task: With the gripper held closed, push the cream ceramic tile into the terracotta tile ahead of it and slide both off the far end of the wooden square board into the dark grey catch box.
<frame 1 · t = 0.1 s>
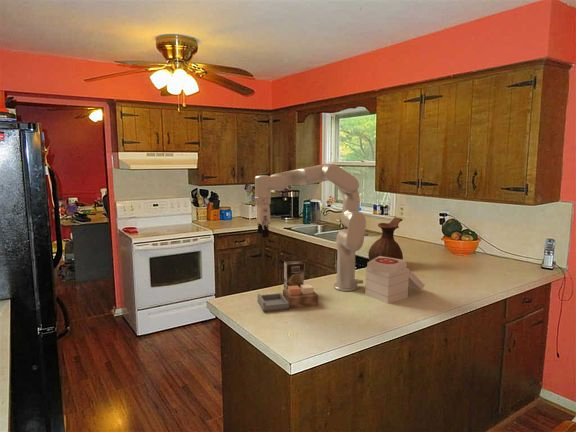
hand: (263, 235, 203), 31 cm above the worktop, tool pointing down, fingers open, 9 cm apart
wooden square board: (299, 302, 198), on the worktop
coffee box: (293, 292, 212), on the worktop
jug: (385, 266, 261), on the worktop
pizza boxes: (393, 293, 211), on the worktop
tile 2: (306, 291, 199), point 5 cm above the worktop, touching wooden square board
tile 1: (294, 293, 197), point 5 cm above the worktop, touching wooden square board
catch box: (272, 305, 195), on the worktop
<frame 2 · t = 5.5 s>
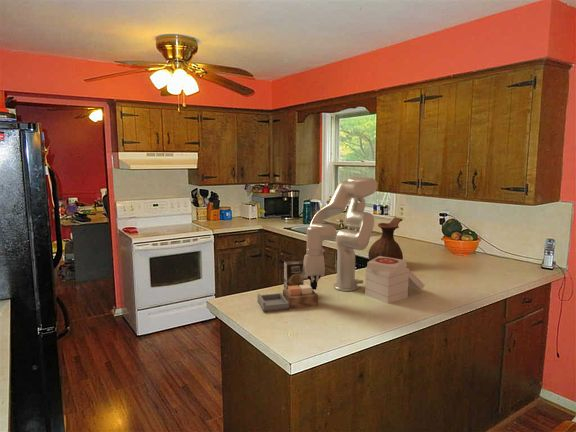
hand: (313, 288, 199), 6 cm above the worktop, tool pointing down, fingers closed
tile 2: (305, 291, 198), point 5 cm above the worktop, touching wooden square board, gripper
everything else where it was.
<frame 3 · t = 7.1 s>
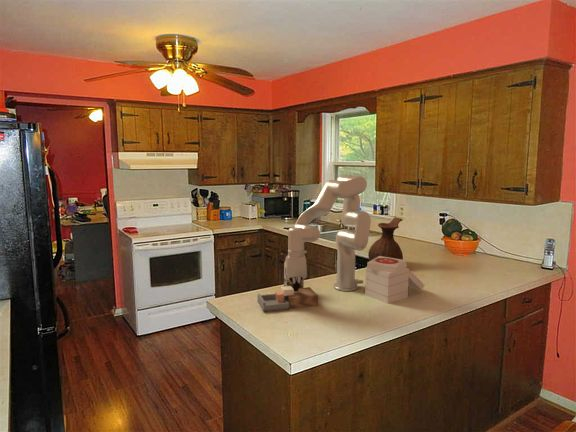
hand: (295, 290, 197), 6 cm above the worktop, tool pointing down, fingers closed
tile 2: (287, 293, 196), point 5 cm above the worktop, touching gripper
tile 1: (282, 297, 195), point 3 cm above the worktop, tilted 94°, touching catch box
everything else where it was.
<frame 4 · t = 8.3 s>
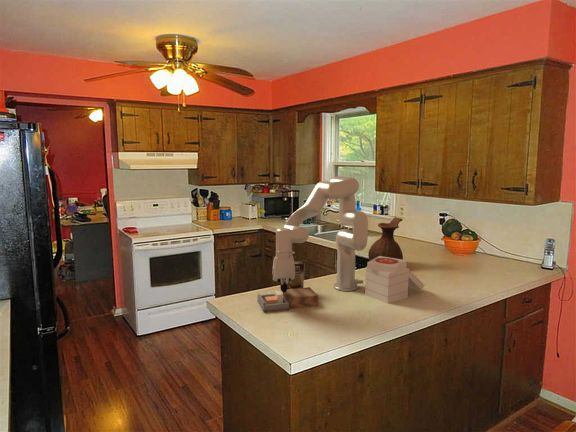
hand: (283, 291, 195), 6 cm above the worktop, tool pointing down, fingers closed
tile 2: (281, 297, 196), point 3 cm above the worktop, tilted 90°, touching catch box
tile 1: (270, 298, 194), point 4 cm above the worktop, tilted 180°, touching catch box
everything else where it was.
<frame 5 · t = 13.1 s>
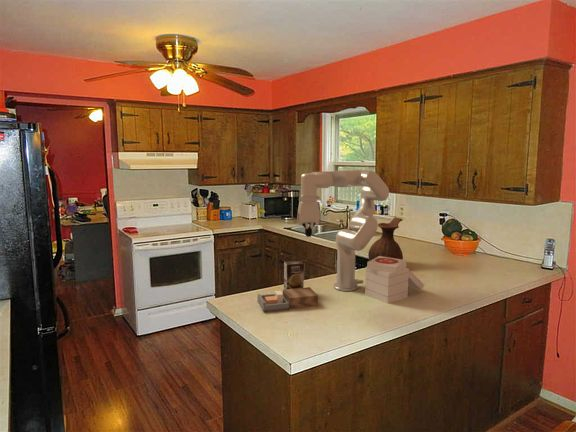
hand: (308, 236, 201), 31 cm above the worktop, tool pointing down, fingers closed
nothing on the worktop moved.
at the end: tile 1 inside the target area on the catch box (1.0 cm from its centre), point 3.6 cm above the catch box's base; tile 2 inside the target area on the catch box (4.4 cm from its centre), point 3.3 cm above the catch box's base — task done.
